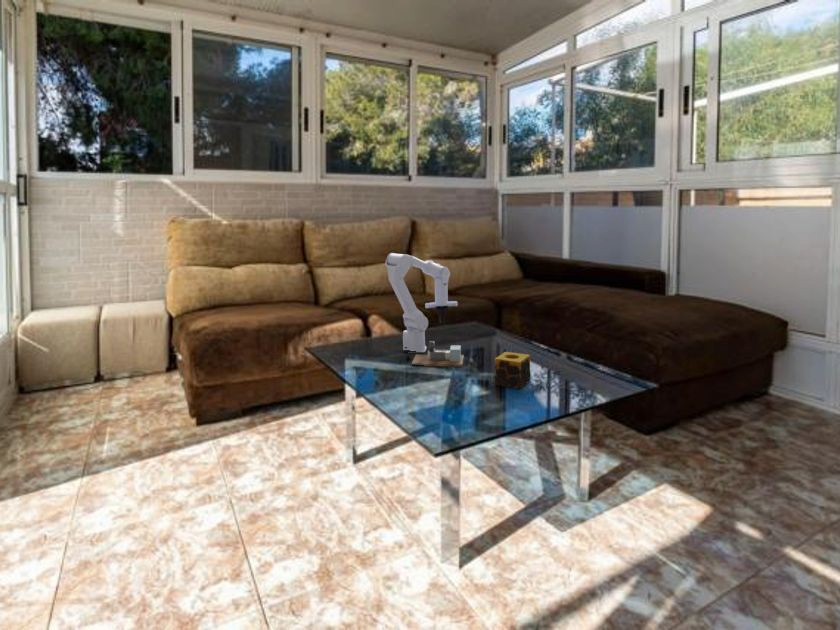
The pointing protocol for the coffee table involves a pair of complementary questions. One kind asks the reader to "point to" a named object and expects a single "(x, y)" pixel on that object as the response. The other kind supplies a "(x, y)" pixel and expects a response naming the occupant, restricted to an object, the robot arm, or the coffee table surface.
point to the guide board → (426, 362)
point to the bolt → (432, 349)
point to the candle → (512, 370)
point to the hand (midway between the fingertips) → (441, 322)
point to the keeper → (455, 353)
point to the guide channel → (437, 355)
